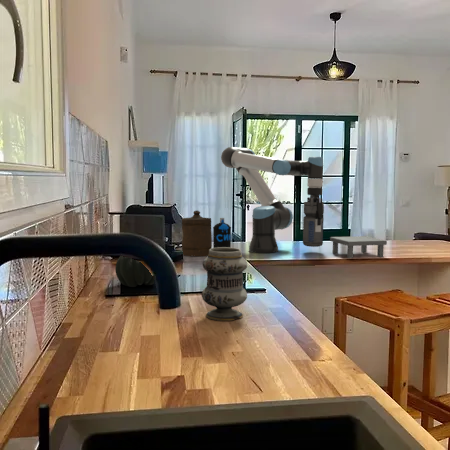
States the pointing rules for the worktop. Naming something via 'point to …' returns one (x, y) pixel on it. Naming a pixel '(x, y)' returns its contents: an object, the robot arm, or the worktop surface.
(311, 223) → the beverage bottle
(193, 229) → the wooden container
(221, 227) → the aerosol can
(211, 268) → the apothecary jar
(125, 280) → the squash
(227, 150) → the robot arm
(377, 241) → the stool
